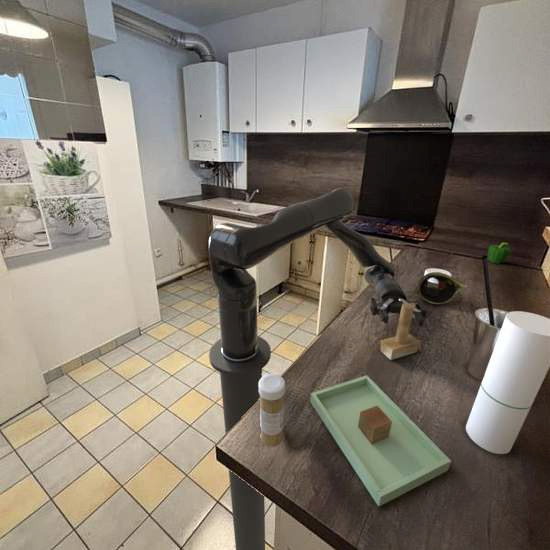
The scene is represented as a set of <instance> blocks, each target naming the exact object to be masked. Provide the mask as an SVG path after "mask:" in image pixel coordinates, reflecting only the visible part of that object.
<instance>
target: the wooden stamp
mask: <svg viewBox="0 0 550 550" xmlns="http://www.w3.org/2000/svg"><path fill="white" fill-rule="evenodd" d="M413 314H414V306H413V305H412V304H408V303H404V304H402V308H401V313H400V314H399V319H398V323H397V329H396V333H395V336H392V337H388V338H385V339H381V340H380V344H379V346H380V352H381V353H382V354H383V355H384V356H385V357H386V358H387V359H389V361H392V360H395V359H398V358H402V357H405V356H408V355H412V354H415V353H418V350H419V348H421V347H420V346H421V340H419V339H418V338H416V337H415V336H414V335H412V334H411V333H410V328H411V324H412V320H413V318H412V315H413Z"/></svg>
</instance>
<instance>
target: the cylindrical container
mask: <svg viewBox="0 0 550 550" xmlns="http://www.w3.org/2000/svg"><path fill="white" fill-rule="evenodd" d="M508 312H509V313H507V314H506V317H505V320H504V323H503V325H502V328H501V331H500V334H499V336H498V339H497V342H496V345H495V347H494V350H493V353H492V356H491V358H490V361H489V364H488V367H487V369H486V372H485V375H484V378H483V380H482V381H481V383H480V386H479V388H478V392H477V394H476V397H475V400H474V402H473V406H472V408H471V412H470V414H469V416H468V419H467V422H466V425H465V431H466V433H467V435H468V436H469V438H470V439H471V440H472V441H473V443H475V444H476V445H477V446H478V447H480V448H481V449H483V450H485V451H488V452H489V453H492V454H496V455H506V454H508V453H510V452H511V450H512V448H513V446H514V444H515V442H516V440H517V438H518V436H519V433H520V431H521V429H522V427H523V426H524V423H525V420H526V419H527V416H528V415H529V412H530V410H531V408H532V405H533V403H534V401H535V399H536V397H537V395H538V393H539V391H540V388H541V386H542V384H543V382H544V380H545V378H546V376H547V374H548V372H549V370H550V318H549V317H546V316H543V315H540V314H536V313H532V312H527V311H521V310H520V311H519V310H517V311H515V310H514V311H508Z"/></svg>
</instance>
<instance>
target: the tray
mask: <svg viewBox="0 0 550 550" xmlns="http://www.w3.org/2000/svg"><path fill="white" fill-rule="evenodd" d="M309 401H310V404H311V406H312V407H313V408H314V409H315V412H316V413H317V414H318V416H319V418H320V419H321V421H322V422H323V423H324V425H325V427H326V429H327V430H328V431H329V433H330V435H331V436H332V438H333V439H334V441H335V442H336V444H337V445H338V447H339V448H340V450H341V451H342V453H343V454H344V456H345V457H346V459H347V461H348V462H349V463H350V466H351V467H352V468H353V469H354V471H355V473H356V474H357V476H358V477H359V479H360V480H361V482H362V484H363V485H364V486H365V488H366V490H367V491H368V493H369V494H370V496H371V498H372V499H373V501H374V503H375V504H376V505H377V506H378V507H381V506H383V505H385V504H387V503H388V502H391V501H393V500H394V499H396V498H398V497H401V496H402V495H404V494H406V493H407V492H408V493H409V491H411V490H413V489H415V488H417V487H419V486H421V485H423V484H425V483H427V482H428V481H431V480H433V479H434V478H436V477H438V476H440V475H442V474H444V473H446V472H447V471H449V468H450V466H451V463H452V460H451V459H450V458H449V457H448V456H447V455H446V454H445V453H444V452H443V451H442V450H441V448H439V447H438V445H436V444H435V443H434V441H432V440H431V439H430V438H429V437H428V436H427V434H426V433H424V432H423V431H422V430H421V428H419V426H418V425H417V424H415V422H414V421H412V419H410V417H409V416H408V415H407V414H406V413H405V412H404V411H403V410H402V408H400V407H399V406H398V405H397V404H396V403H395V402H394V401H393V400H392V399H391V398H390V397H389V396H388V395H387V394H386V393H385V392H384V391H383V389H381V388H380V387H379V386H378V384H376V382H375V381H374V380H372V378H370V376H369V375H367V374H366V375H363V376H360V377H357V378H353V379H351V380H348V381H345V382H341V383H338V384H336V385H333V386H332V385H331V386H330V387H326V388H322V389H320V390H317V391H314V392H310V400H309ZM374 406H378V407H379V408H380V409H381V410H382V411H383V412H384V413H385V414H386V416H387V417H388V418H389V419H390V420H391V421H392V424H391V429H390V433H389V437H388V438H385V439H383V440H381V441H378V442H376V443H374V444H371V443H370V442H369V441H368V439H367V438H366V437H365V435H364V434H363V433H362V432H361V430H360V429H359V428H358V423H359V417H360V412H361V411H364V410H366V409H369V408H372V407H374Z"/></svg>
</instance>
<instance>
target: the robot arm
mask: <svg viewBox="0 0 550 550" xmlns="http://www.w3.org/2000/svg"><path fill="white" fill-rule="evenodd" d="M354 207H355V199H354V196H353V195H352V193H351V192H350V191H349V190H347V189H345V188H341V187H339V188H335V189H333V190H330V191H329V192H326V193H324V194H322V195H320V196H319V197H317V198H313V199H308V200H305V201H301V202H297V203H293V204H291V205H288V206H286V207H283V208H281V209H279V210H278V211H277V212H276V213H275V215H274V216H273V219H272V221H270V222H269V223H267V224H263V225H259V226H253V227H252V226H244V225H240V224H235V223H231V222H223V223H220V224H218V225H216V226H215V227H214V229H213V230H212V231H211V233H210V236H209V239H208V255H209V256H208V257H209V263H210V270H211V272H210V273H211V276H212V277H211V278H212V283H213V284H214V286H215V288H216V295H217V304H218V305H217V306H218V318H219V329H220V339H221V343H222V355H223V357H224V358H225V359H226V360H228V361H230V362H234V363H242V362H247V361H249V360H251V359H253V358H254V357H255V356H256V355H257V354H258V347H259V341H258V336H259V335H258V334H259V333H258V298H257V295H258V293H257V291H258V290H257V281H256V279H255V278H254V277H253V275H251V274H250V273H249V272H248V269H252V268H254V267H256V266H257V265H259V264H261V263H262V262H263V261H265V260H266V259H268V258H269V257H271V256H272V255H273V254H275V253H276V252H278V251H280V250H281V249H284V248H286V247H287V246H289V245H291V244H293V243H296V242H297V241H300V240H302V239H304V238H306V237H309V236H310V235H311V234H313V233H315V232H317V231H318V230H320V229H322V228H323V227H326V228H327V229H328V230H329V231H330V232H331V233H332V234H333V235H334V236H335V237H336V238H337V239H338V240H340V241H341V242H342V243H343V244H344V245H345V246H346V247H347V249H348V250H349V251H350V252H351V254H352V255H353V257H354V258H355V259H356V261H357V262H358V263H359V265H360V266H361V267H363V268H367V269H366V270H365V272H364V274H363V276H364V280H365V282H366V283H367V284H368V285H369V286H370V287H372V288H373V289H374V291H375V295H376V297H377V299H378V300H376V298H375V297H371V298H370V301H369V309H370V314H371V315H372V316H376V315H378V317H379V318H380V321H381V322H382V323H384V324H385V325H388V323H389V314H399V315H400V313H401V308H402V304H404V303H408V304H412V305H413V306H414V311H413V315H412V319H414V321H415V323H416V325H417V327H422V326H423V325H424V324H425V320H426V317H427V313H428V310H427V308H426V307H425V305H423V304H422V302H421V301H420V300H416V301H415V302H410V301H409V300H408V299H407V296H406V294H405V291H404V290H403V289H402V288H401V286H400V284H399V283H398V282H397V281H396V278H395V276H396V268H395V266H394V265H393V264H392V263H390V262H389V261H388V260H387V259H385V258H384V257H382V256H381V255H380V253H378V251H377V250H376V248H375V246H374V245H373V244H372V242H371V241H370V239H368V237H366V236H365V235H363V234H361V233H360V232H358V231H356V230H354V229H353V228H351V227H349V226H348V225H347V224H345V223H344V222H343V221H342V219H345V218H347V217H348V216H350V215H351V214H352V212H353V210H354Z"/></svg>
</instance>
